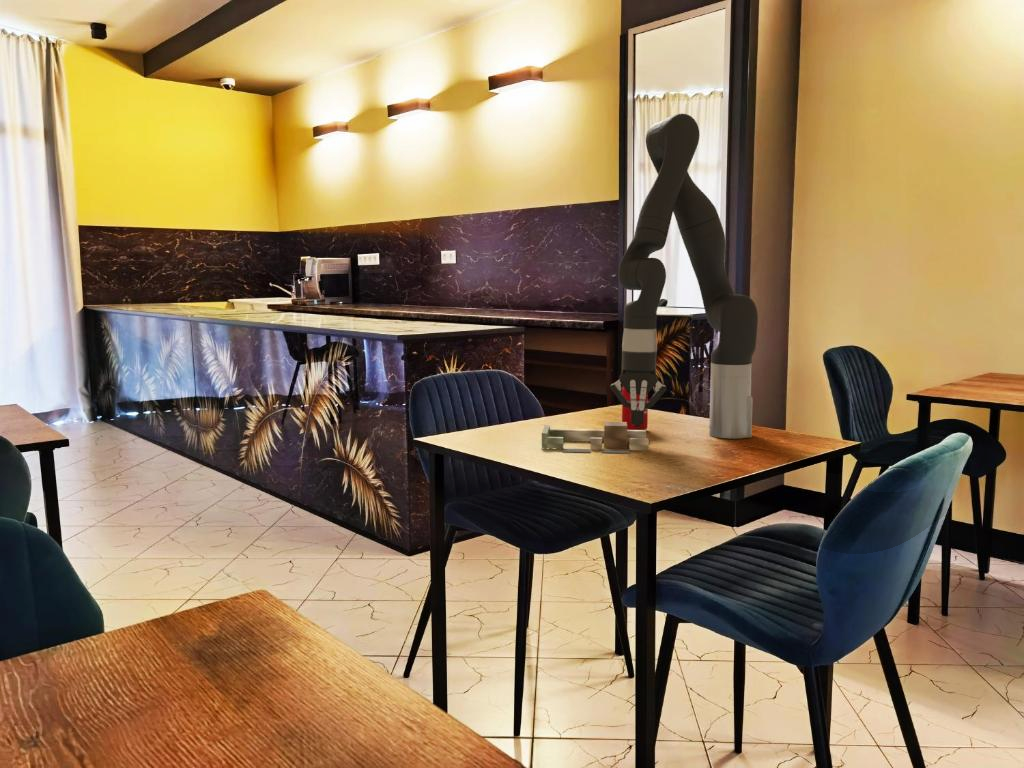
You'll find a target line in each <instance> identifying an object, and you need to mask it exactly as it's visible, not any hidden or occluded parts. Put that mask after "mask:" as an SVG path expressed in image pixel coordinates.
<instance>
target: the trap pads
mask: <svg viewBox="0 0 1024 768" xmlns="http://www.w3.org/2000/svg"><path fill="white" fill-rule="evenodd" d="M563 452H579V453H578V454H583V453H584V454H591V450H590V448H563V449H562V453H563ZM601 453H602V454H631V450H630V449H622V448H617V449H616V448H615V449H612V448H608V449H605V448H602V450H601Z"/></svg>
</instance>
